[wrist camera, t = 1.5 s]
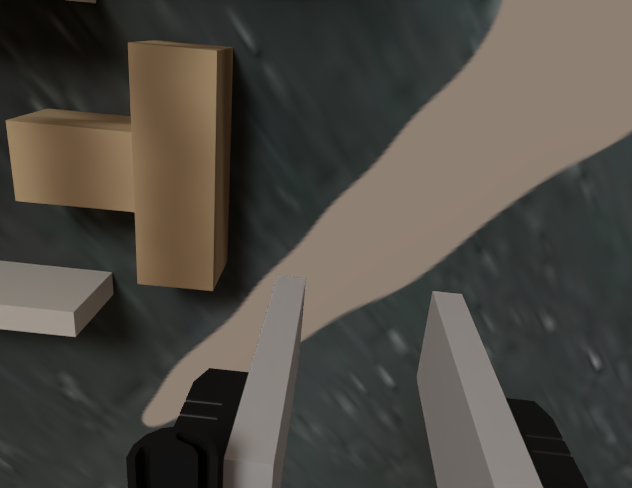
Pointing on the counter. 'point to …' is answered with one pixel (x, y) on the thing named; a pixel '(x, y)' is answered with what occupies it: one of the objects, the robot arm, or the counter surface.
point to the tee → (145, 160)
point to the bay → (51, 295)
